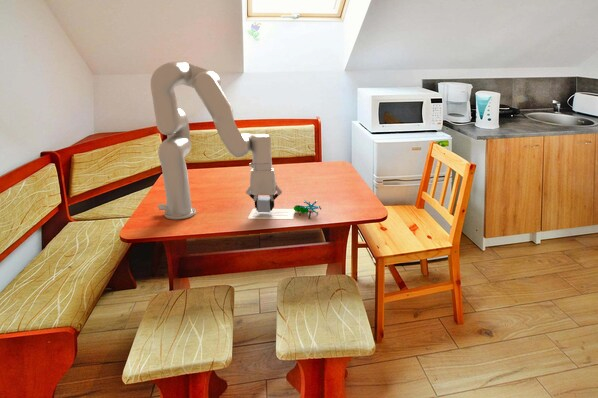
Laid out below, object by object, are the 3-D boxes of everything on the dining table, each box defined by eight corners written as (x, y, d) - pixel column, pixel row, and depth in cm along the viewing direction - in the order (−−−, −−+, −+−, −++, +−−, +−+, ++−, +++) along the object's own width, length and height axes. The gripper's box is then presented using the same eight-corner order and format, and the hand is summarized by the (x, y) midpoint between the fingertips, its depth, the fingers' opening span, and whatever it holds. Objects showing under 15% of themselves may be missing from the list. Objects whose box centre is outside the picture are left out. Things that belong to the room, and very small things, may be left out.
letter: (247, 218, 168) (247, 218, 168) (252, 208, 178) (252, 208, 178) (292, 219, 166) (292, 219, 166) (295, 209, 176) (295, 209, 176)
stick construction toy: (324, 208, 171) (316, 197, 166) (322, 222, 167) (314, 211, 162) (299, 212, 176) (290, 201, 171) (296, 226, 172) (287, 216, 167)
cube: (257, 212, 169) (256, 200, 168) (259, 207, 174) (259, 196, 172) (269, 212, 169) (269, 200, 167) (271, 207, 174) (271, 196, 172)
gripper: (239, 168, 163) (242, 212, 169) (282, 168, 161) (284, 212, 167) (243, 163, 170) (246, 205, 176) (285, 163, 168) (286, 206, 174)
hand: (264, 208), depth 171 cm, fingers closed on cube, 5 cm apart
